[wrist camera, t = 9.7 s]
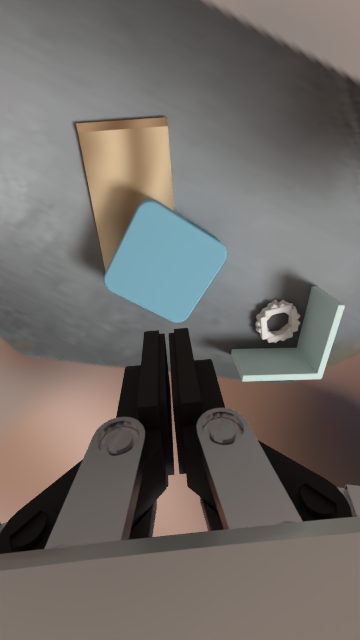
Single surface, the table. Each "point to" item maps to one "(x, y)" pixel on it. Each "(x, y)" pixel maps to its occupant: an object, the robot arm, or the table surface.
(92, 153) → the wooden board
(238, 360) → the mint corner bracket
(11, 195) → the table surface
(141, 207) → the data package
